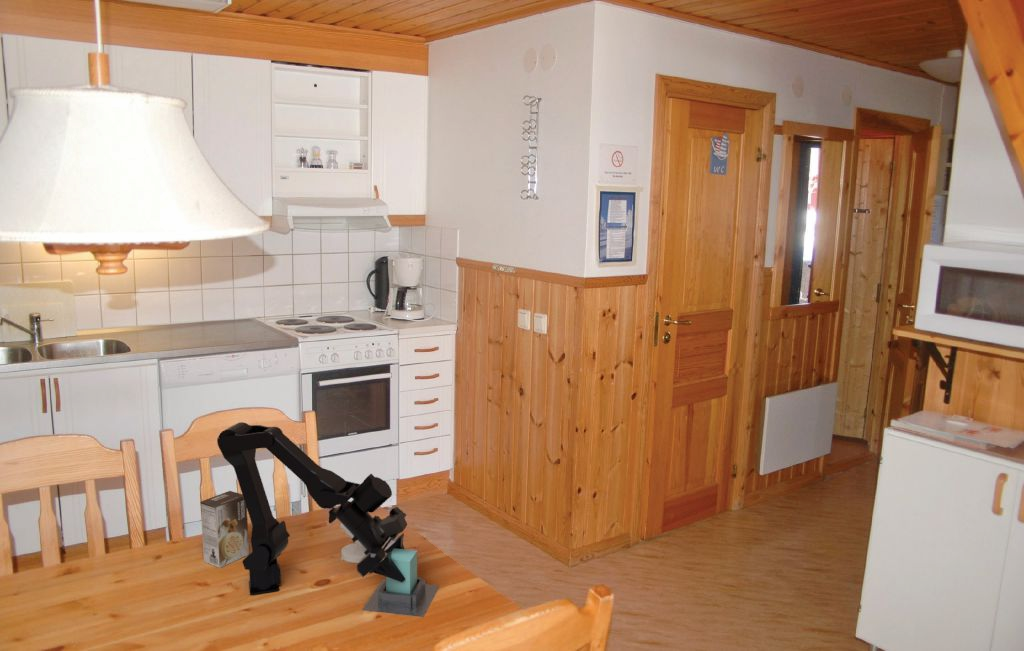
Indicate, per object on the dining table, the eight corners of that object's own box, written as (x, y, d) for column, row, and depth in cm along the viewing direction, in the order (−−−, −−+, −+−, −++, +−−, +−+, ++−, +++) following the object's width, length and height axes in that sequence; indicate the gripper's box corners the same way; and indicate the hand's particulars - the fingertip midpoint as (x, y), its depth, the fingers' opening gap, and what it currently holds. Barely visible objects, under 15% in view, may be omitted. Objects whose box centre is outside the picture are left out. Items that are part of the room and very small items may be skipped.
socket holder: (361, 615, 173) (361, 597, 172) (382, 584, 187) (382, 567, 186) (423, 622, 171) (423, 604, 170) (439, 590, 184) (439, 573, 184)
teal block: (386, 600, 176) (386, 559, 175) (393, 588, 182) (393, 548, 180) (409, 603, 175) (410, 561, 174) (416, 591, 181) (417, 550, 179)
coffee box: (233, 548, 204) (230, 489, 201) (249, 554, 200) (247, 495, 198) (202, 562, 196) (199, 501, 193) (219, 569, 193) (216, 506, 190)
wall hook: (356, 512, 204) (382, 522, 198) (356, 547, 206) (383, 558, 200) (330, 523, 198) (357, 533, 192) (330, 558, 199) (357, 570, 193)
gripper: (370, 518, 166) (420, 572, 166) (397, 486, 184) (443, 535, 185) (335, 550, 169) (385, 603, 169) (365, 515, 187) (410, 563, 187)
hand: (407, 574), depth 177 cm, fingers closed on teal block, 5 cm apart
